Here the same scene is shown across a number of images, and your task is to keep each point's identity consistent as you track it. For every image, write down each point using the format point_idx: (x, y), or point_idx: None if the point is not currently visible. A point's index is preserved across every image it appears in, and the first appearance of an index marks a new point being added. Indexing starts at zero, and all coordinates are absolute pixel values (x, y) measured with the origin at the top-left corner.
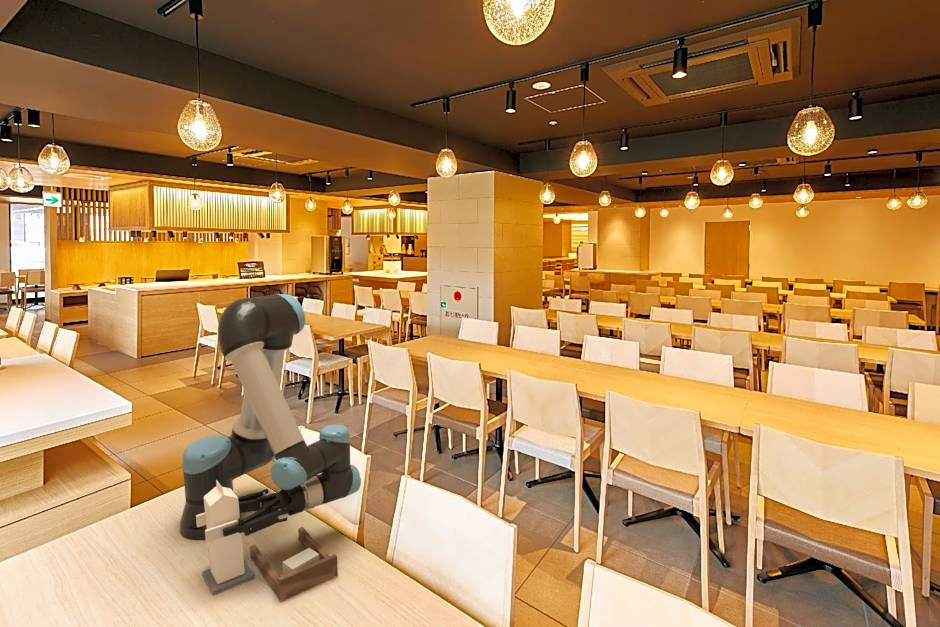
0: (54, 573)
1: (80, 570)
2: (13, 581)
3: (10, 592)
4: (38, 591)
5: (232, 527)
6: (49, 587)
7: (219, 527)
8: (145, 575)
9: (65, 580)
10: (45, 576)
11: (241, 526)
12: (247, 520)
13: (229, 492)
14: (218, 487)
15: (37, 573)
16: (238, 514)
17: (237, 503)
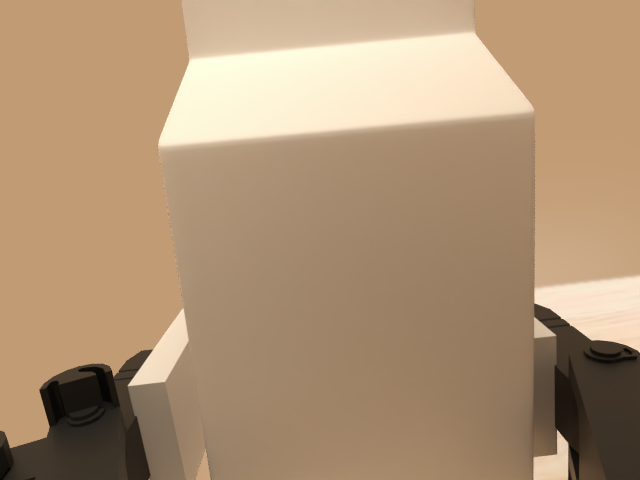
0: (625, 311)
1: (632, 336)
2: (604, 284)
3: (561, 287)
4: (550, 307)
5: (120, 386)
6: (561, 314)
7: (177, 317)
8: (561, 440)
9: (586, 325)
10: (614, 305)
11: (46, 438)
12: (39, 471)
13: (319, 92)
14: (381, 27)
15: (631, 297)
16: (196, 370)
17: (172, 222)
